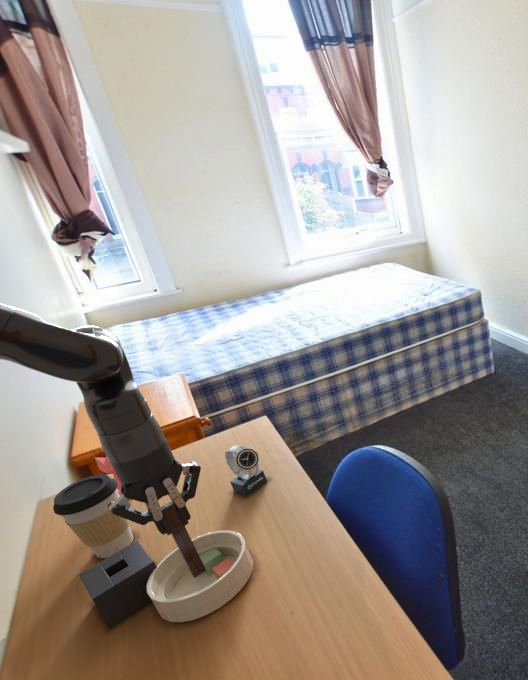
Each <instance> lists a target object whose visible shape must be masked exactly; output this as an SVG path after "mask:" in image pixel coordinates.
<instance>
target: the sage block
mask: <svg viewBox="0 0 528 680" xmlns="http://www.w3.org/2000/svg"><path fill="white" fill-rule="evenodd" d="M199 557H200V559H201V561H202V563H203V565H204V567H205V569H206V572H207V574H208V575H209V576H210V575H212V574H213V573H214V572H213V570H212V568H214V567H215V566H217V565H218V564H220V563H221V562H223V561H224V558H223V556H222V554H221V553H220V552H219V551H218V550H217V549H216V548H215V547H213V548H211V549H210V550H208V551H206V552H205V553H203V554H202V555H200V556H199Z"/></svg>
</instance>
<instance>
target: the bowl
mask: <svg viewBox="0 0 528 680" xmlns="http://www.w3.org/2000/svg"><path fill="white" fill-rule="evenodd" d="M191 540H192V542H193V544H194V546H195V548H196V550H197V552H198V555H199V556H200V555H202V554H203V553H205V552H206V551H208V550H210V549H211V548H213V547H215V548H216V549H217V550H218V551H219V552H220V553H221V554H222V556H223V558H224V560H226V559H227V558H230V559H231V560H232V561H233V562H234V565H233V566H232V567H231V568H230V569H229V570H228V571H227V572H226V573H225V574H224V575H223V576H222V577H221V578H220V579H218V580H217V579H216V576H215V574H214V573H213V574H212V575H210V576H209V575H208V574H207V572H206V571H204V572H203V573H202V574H200V575H198V576H197V577H196V578H194V577H193V576H192V574H191V572H190V570H189V568H188V566H187V564H186V562H185V560H184V558H183V556H182V554H181V552H180V550H179V548H178V547H176V548H175V549H173V550H172V551H171V552H170V553H168V554H167V555H166V556H165V557H163V558H162V560H161V561H160V562H159V563H158V564H156V566H157V568H156V569H154V570H153V572H152V573H151V575H150V577H149V580H148V582H147V594H148V595H149V597H150V599H151V601H150V602H152V604H153V606H154V608H155V610H156V611H157V613H158V615H159V616H160V617H161V619H163V620H166V621H167V622H170V623H184V622H190V621H194V620H197V619H200V618H202V617H205V616H208V615H209V614H211V613H213V612H215V611H217V610H218V609H220V608H221V607H223V606H224V605H225V604H227V603H228V602H230V601H231V600H232V599H233V598H235V596H236V595H237V594H238V593H239V592H240V591H241V590H242V589H243V588H244V586H245V585H246V584H247V582H248V581H249V580H250V577H251V575H252V573H253V568H254V560H253V557H252V554H251V551H250V550H249V547H248V545H247V542H246V540H245V538H244V536H243V535H241V534H240V533H239V532H237V531H234V530H224V529H221V530H215V531H210V532H208V533H207V532H206V533H204V534H201V535H198V536H196V537H194V538H191Z"/></svg>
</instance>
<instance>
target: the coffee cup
mask: <svg viewBox="0 0 528 680" xmlns="http://www.w3.org/2000/svg"><path fill="white" fill-rule="evenodd" d="M117 487H118V483H117V481H116V480H114V477H113V478H112V477H110V476H109V475H108V474H95V475H90V476H87V477H84V478H82V479H79V480H77V481H75V482H73V483H71V484H69V485H68V486H65V488H62V490H60V491H59V492H58V493H57V494H56V495H55V497H54V499H53V507H52V509H53V512H54V514H55V515H57V516H61V517H62V519H63V520H64V523H65V524H66V525H67V526H68V527H69V529H70V530H71V531H72V532H73V533H74V534H75V535H76V537H77V538H79V540H80V541H81V542H82V543H83V544H84V545H85V546H86V547H87V548H89V550H90V551H92V553H93V554H94V555H95V556H96V557H97V558H99V559H107V558H108V557H110V556H112V555H114V554H115V553H117V552H119V551H120V550H122V549H124V548H125V547H127V546H129V545H131V544H132V543H133V542H134V535H133V532H132V528H131V526H130V520H127V519H125V518H122V517H119V516H117V515H114V514H113V513H112V512H111V511H110V510H109V508H108V504H109V503H110V502H113V501H116V500H117V499H118V498H119V497H120V495H119V490H118V489H117Z"/></svg>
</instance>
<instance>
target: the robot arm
mask: <svg viewBox="0 0 528 680" xmlns="http://www.w3.org/2000/svg"><path fill="white" fill-rule="evenodd" d="M0 360H2V361H7V362H11V363H14V364H17V365H20V366H21V367H24V368H27V369H30V370H34V371H36V372H39V373H42V374H44V375H47V376H51V377H54V378H56V379H61V380H64V381H68V382H74V383H76V384H77V386H78V388H79V391H80V392H81V394H82V398H83V405H84V408H85V412H86V414H87V417H88V418H89V421H90V422H91V424H92V426H93V428H94V430H95V431H96V434H97V436H98V440H99V443H100V445H101V448H102V450H103V453H104V456H105V457H106V456H107V457H108V459H109V461H110V463H111V465H112V467H113V469H114V470H115V472H116V474H117V476H118V478H119V480H120V482H121V484H122V488H121V493H122V495H121V496H120V497H119V498H118V499H117V500H116V501H113V502H110V503H109V504H108V508H109V510H110V511H111V512H112V513H113V514H114V515H117V516H119V517H122V518H125V519H127V520H129V522H130V521H131V522H132V523H136V524H139V525H141V526H145V525H147V524H148V523H151V522H153V523H154V525H155V527H156V529H157V531H158V532H159V533H160V534H161V535H167V536H170V535H172V533H173V532H172V530H171V528H170V526H169V524H168V522H167V520H166V518H165V517H164V516H163V515H162V512H161V509H160V507H161V505H160V502H159V500H160V499H162V498H163V497H166V496H168V497H169V499H170V501H172V502H173V503H174V505H175V507H176V510H177V512H178V514H179V516H180V518H181V520H182V522H183V524H184V526H185V527H186V526H187V525H189V524H190V522H189V520H191V517H192V516H191V513H190V512H189V510H188V508H187V507H188V506H187V505H186V504H187V502H188V501H189V500H192V499H193V498H195V496H196V493H197V488H198V483H199V479H200V475H201V474H200V473H201V471H202V467H201V466H200V465H199V464H198V463H197V462H196V461H194V460H192V461H189V462H188V463H180V462H179V461H178V460H176V458H175V456H174V453H173V451H172V449H171V448H170V445H169V442H168V441H167V438H166V436H165V433H164V432H163V430H162V427H161V425H160V424H159V422H158V420H157V419H156V418H155V416H154V415H153V413H152V410H151V408H150V407H149V404H148V401H147V400H146V397H145V396H144V394H143V393H142V390H141V389H140V387H139V386H138V384H137V382H136V380H135V377H134V374H133V371H132V369H131V366H130V365H131V364H130V363H129V360H128V357H127V355H126V352H125V350H124V347H123V345H122V343H121V340H120V339H119V337H117V335H115V334H114V332H112V331H110V330H108V329H106V328H104V327H101V326H95V325H84V326H80V327H77V328H74V329H68V328H65V327H63V326H60V325H59V326H58V325H56V324H52V323H49V322H46V321H45V320H43V319H42V317H40V316H38V315H37V314H35V313H33V312H29V311H27V310H24V309H21V308H18V307H17V308H16V307H14V306H11V305H10V306H9V305H6V304H3V303H0ZM182 475H183V476H184V480H183V486H182V490H181V492H180V490H179V489H178V488H177V487H178V484H179V480H180V479H181V476H182ZM129 500H132V501H136V502H139V503H144V505H145V506H146V510H147V511H144V512H143V511H141V510H138V509H136V508H135V509H134V508H133V507H131V503H130V502H129Z"/></svg>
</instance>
